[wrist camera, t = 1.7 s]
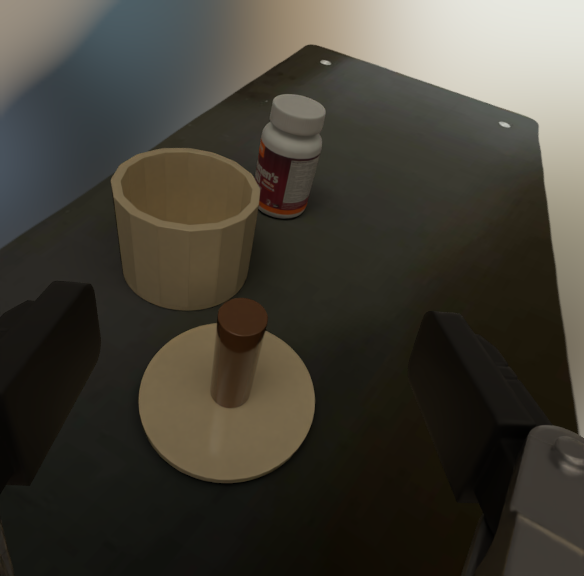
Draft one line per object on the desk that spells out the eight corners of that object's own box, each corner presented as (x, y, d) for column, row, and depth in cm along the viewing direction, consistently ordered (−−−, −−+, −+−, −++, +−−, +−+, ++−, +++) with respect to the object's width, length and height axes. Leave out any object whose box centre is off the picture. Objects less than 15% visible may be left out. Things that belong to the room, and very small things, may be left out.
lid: (155, 515, 24) (147, 447, 18) (128, 347, 31) (115, 256, 25) (338, 454, 29) (385, 382, 22) (278, 320, 36) (300, 237, 30)
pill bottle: (241, 194, 48) (254, 93, 40) (285, 184, 51) (304, 88, 43) (272, 226, 45) (292, 124, 37) (316, 213, 48) (343, 116, 40)
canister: (131, 321, 33) (121, 237, 27) (115, 231, 40) (104, 148, 34) (263, 299, 37) (279, 223, 31) (229, 222, 44) (237, 147, 38)
